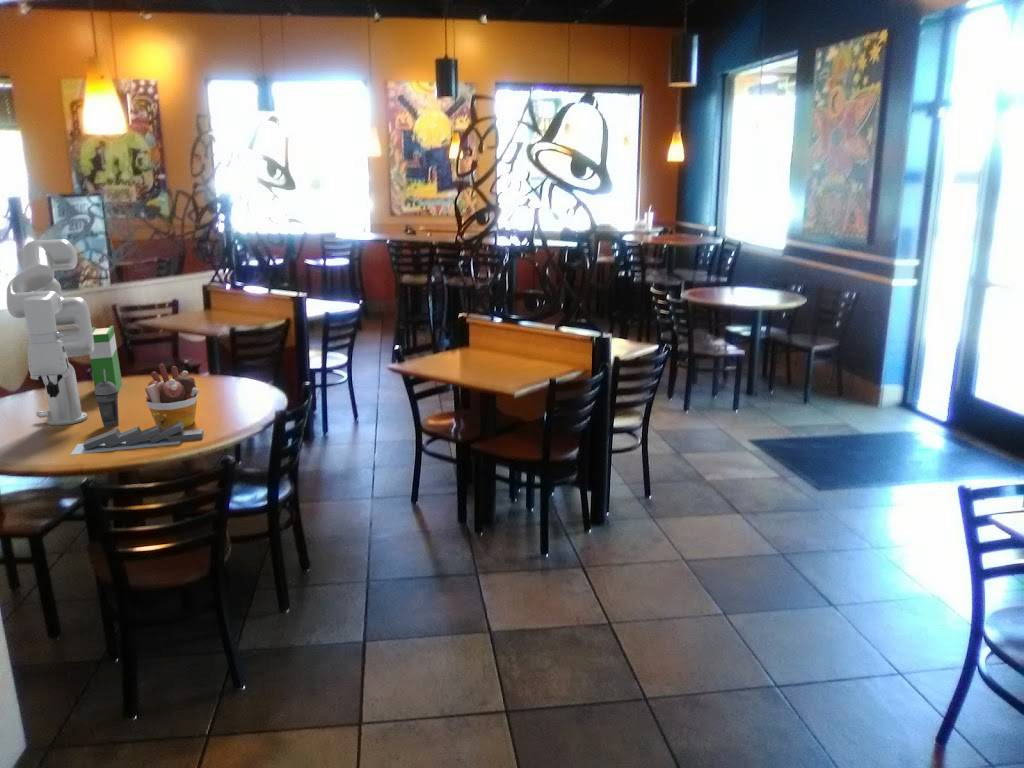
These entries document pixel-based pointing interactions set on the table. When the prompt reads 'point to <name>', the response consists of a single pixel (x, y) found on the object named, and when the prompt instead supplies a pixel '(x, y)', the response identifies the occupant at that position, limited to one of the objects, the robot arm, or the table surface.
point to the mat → (121, 446)
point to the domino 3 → (145, 435)
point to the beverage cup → (107, 402)
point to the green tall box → (105, 357)
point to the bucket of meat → (172, 398)
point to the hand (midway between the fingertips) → (54, 395)
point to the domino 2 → (124, 437)
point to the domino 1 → (101, 439)
